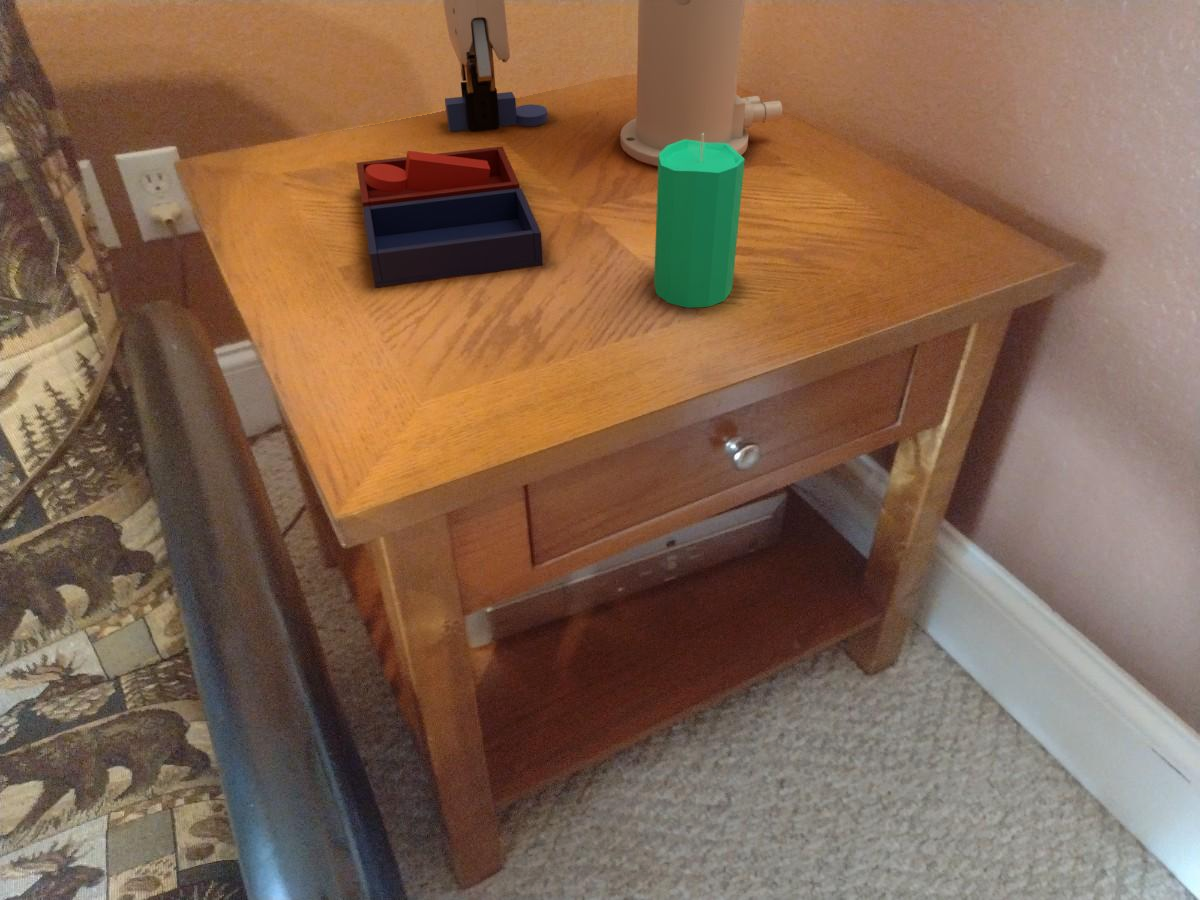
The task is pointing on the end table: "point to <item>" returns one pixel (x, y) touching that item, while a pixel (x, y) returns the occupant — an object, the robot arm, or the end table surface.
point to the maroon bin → (498, 180)
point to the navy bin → (451, 237)
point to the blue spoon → (506, 109)
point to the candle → (697, 222)
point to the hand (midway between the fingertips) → (482, 123)
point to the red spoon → (428, 173)
